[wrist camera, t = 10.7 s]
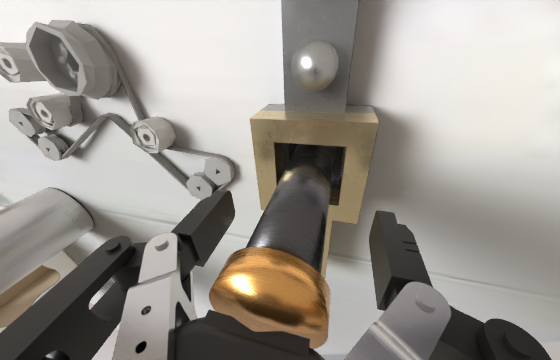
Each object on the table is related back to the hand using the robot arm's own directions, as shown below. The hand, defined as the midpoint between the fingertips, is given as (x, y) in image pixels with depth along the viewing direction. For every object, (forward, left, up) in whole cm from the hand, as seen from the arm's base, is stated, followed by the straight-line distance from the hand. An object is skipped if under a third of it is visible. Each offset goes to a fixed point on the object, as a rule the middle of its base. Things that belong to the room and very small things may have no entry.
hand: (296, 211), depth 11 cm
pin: (0, 0, -8) cm, 8 cm away
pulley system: (-21, +3, -8) cm, 23 cm away
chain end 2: (0, -4, -8) cm, 9 cm away
